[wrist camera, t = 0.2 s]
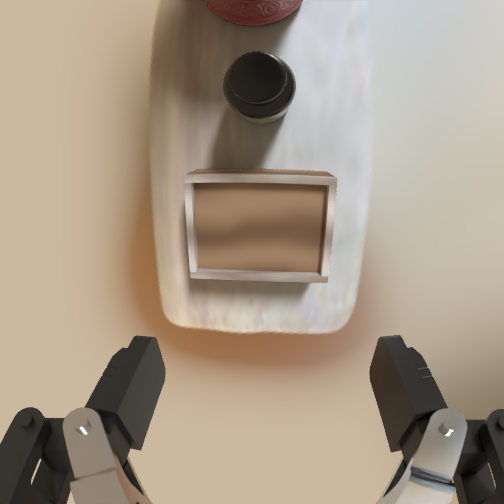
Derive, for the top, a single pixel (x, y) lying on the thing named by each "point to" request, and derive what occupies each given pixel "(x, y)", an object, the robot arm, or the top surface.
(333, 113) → the top surface
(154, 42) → the top surface
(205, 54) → the top surface
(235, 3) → the canister
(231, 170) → the open rectangular tray
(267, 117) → the supplement bottle
